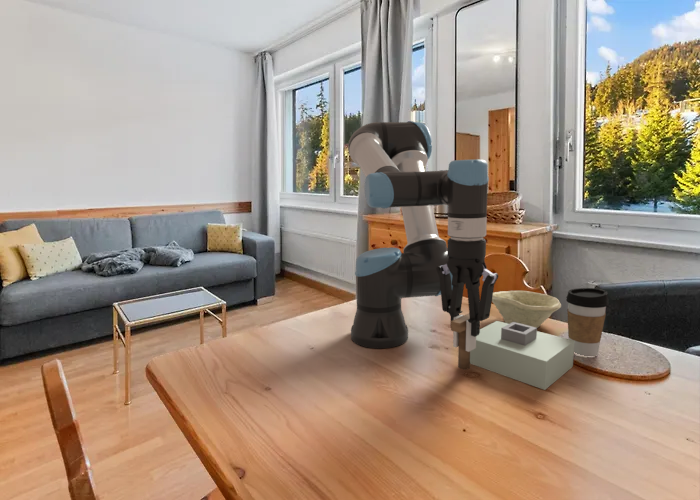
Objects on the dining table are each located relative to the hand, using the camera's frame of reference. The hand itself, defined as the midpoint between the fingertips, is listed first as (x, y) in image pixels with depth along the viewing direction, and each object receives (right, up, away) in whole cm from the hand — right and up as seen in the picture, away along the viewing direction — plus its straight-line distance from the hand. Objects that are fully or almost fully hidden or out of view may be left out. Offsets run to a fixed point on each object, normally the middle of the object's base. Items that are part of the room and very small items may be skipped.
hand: (464, 347), depth 88 cm
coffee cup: (+30, -4, +9) cm, 32 cm away
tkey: (0, -4, +1) cm, 4 cm away
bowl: (+24, 0, +28) cm, 37 cm away
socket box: (+13, -5, +5) cm, 15 cm away
